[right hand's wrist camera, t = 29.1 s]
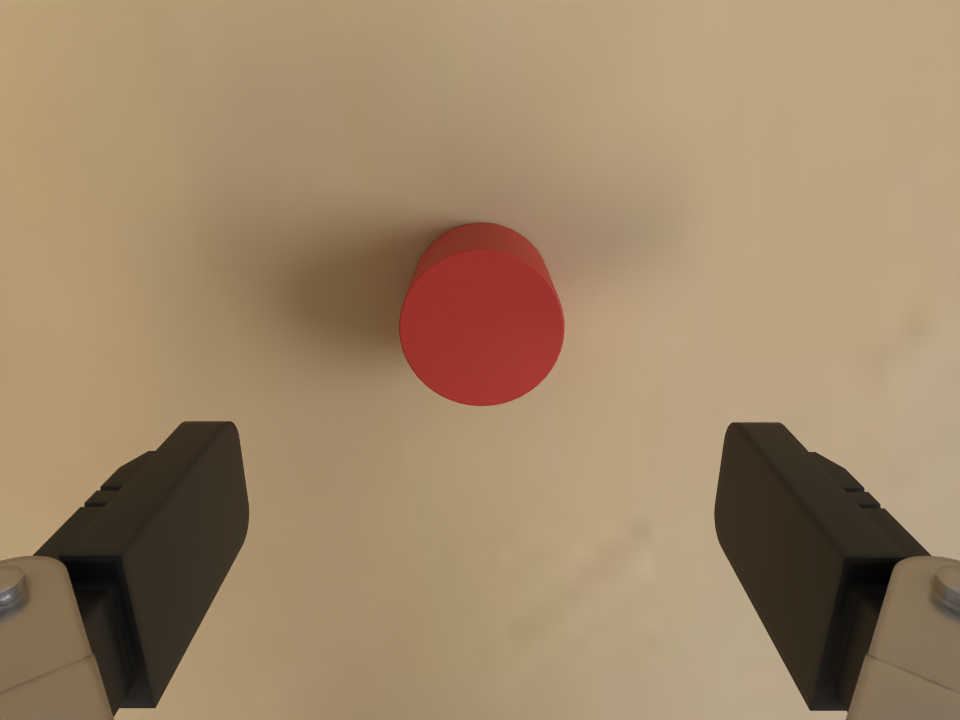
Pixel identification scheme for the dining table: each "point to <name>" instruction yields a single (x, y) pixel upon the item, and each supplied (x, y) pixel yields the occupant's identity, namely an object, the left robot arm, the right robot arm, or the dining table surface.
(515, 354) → the canister
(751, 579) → the right robot arm
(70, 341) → the dining table surface
